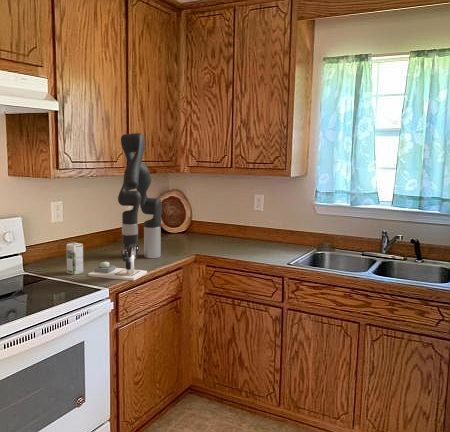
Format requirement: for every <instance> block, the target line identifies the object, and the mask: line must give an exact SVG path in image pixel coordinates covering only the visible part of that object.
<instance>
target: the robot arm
mask: <svg viewBox="0 0 450 432" xmlns="http://www.w3.org/2000/svg"><path fill="white" fill-rule="evenodd" d="M120 144H121V147H122V151H123V153H124V155H125V158H126V160H127V162H128V165H127V166H126V167H125V169H124V173H123V183H122V186H121V189H120V191H119V192H118V195H117V201H118V204H119V205H120V206H123V207H125V206H127V207H130V206H131V207H132V209H129V210H124V211H123V212H122V213H121V215H122V217H121V221H122V223H121V243H122V244H124V248H123V249H122V250H121V252H120V253H121V258H122V261H123V262H125V269H127V270H130V269H131V262H130V261H131V257H132V251H134V268H135V264H136V261H135V260H136V259H137V258H138V255H139V254H138V252H139V245H137V244H138V243H139V225H138V215H139V208H140V209H141V212H142V213H143V214H144V215H153V216H152V218H151V219H148V220H145V221H144V222H143V242H144V243H143V249H144V250H143V253H144V254H143V257H144V258H146V259H147V258H148V259H158V258H161V256H162V255H161V254H162V253H161V252H162V251H161V247H162V245H161V244H162V241H161V240H162V237H161V235H162V232H161V230H162V229H161V227H162V225H161V223H162V210H163V205H162V200H161V198H157V197H148V195H147V192H148V190H149V188H150V186H151V184H152V176H151V173H150V169H149V168H148V166H147V165H146V164H145V163H144V162H142V161H143V156H144V152H145V148H146V147H145V146H146V140H145V137H144V134H143V133H140V132H136V133H135V132H134V133H125V134H122V135H121V137H120ZM128 254H129V255H128ZM128 257H129V258H128Z"/></svg>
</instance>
